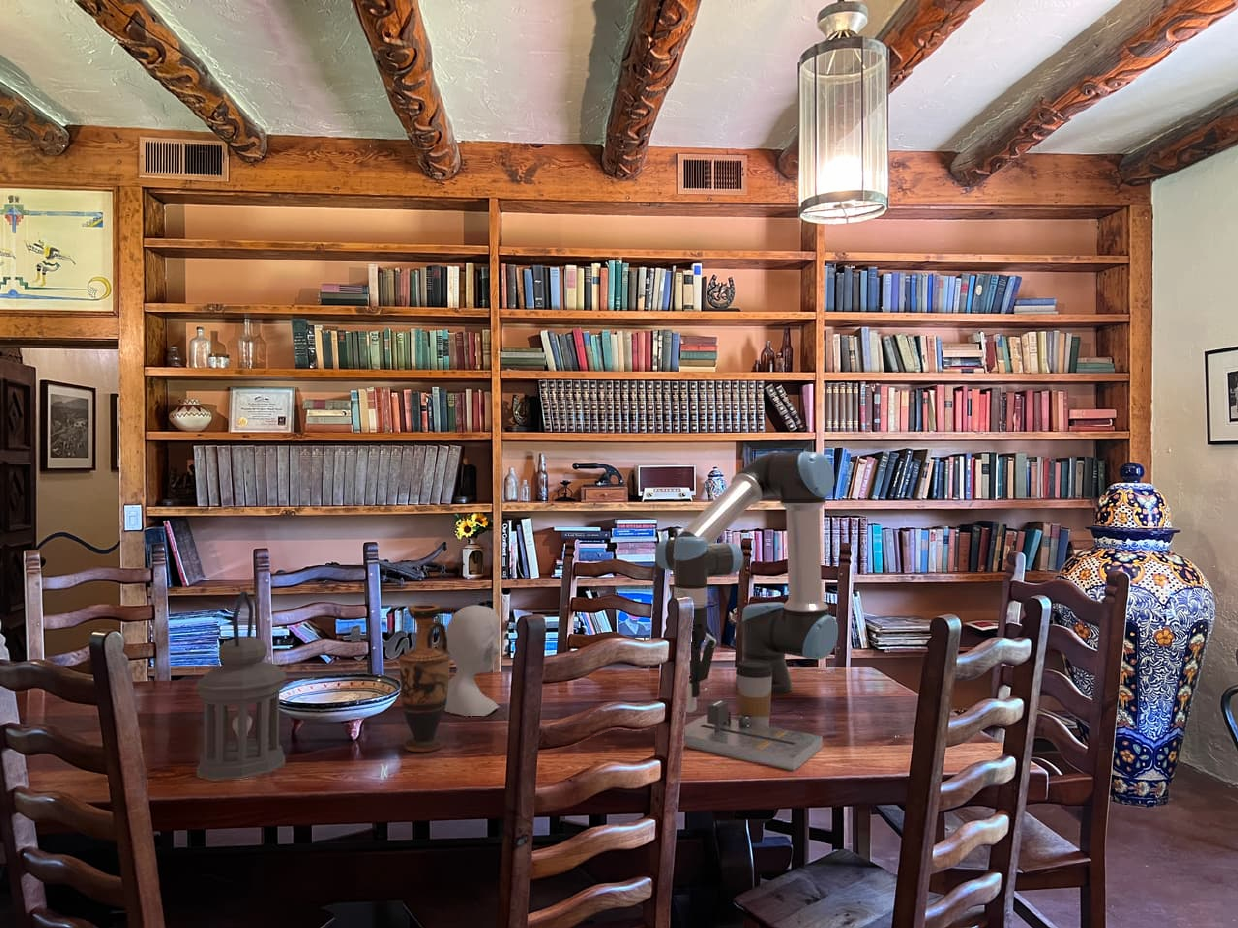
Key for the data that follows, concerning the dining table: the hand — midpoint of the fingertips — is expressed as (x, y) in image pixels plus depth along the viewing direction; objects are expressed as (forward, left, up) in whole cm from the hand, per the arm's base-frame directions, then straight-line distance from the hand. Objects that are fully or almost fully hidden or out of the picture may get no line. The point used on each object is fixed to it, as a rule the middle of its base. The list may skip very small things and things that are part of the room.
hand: (690, 710), depth 180 cm
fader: (0, +7, -5) cm, 9 cm away
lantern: (+68, -65, -6) cm, 94 cm away
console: (0, +14, -5) cm, 15 cm away
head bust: (+10, -58, -6) cm, 59 cm away
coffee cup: (-12, +10, -6) cm, 17 cm away
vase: (+39, -43, -6) cm, 59 cm away
